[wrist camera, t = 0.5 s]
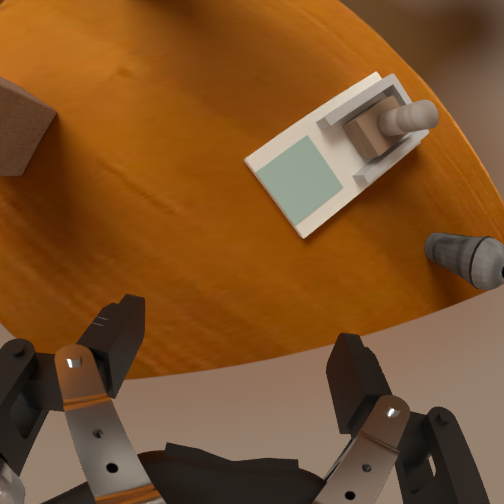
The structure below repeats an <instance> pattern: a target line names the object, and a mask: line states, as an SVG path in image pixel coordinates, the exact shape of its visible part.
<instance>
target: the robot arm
mask: <svg viewBox="0 0 504 504" xmlns="http://www.w3.org/2000/svg"><path fill="white" fill-rule="evenodd" d="M144 332H145V299H144V298H143V297H139V296H134V295H130V294H126V295H125V296H124V297H123V299H122V300H121V301H120V303H119V304H116V303H111V304H109V305H107V306H106V307H104V308H103V309H102V310H101V311H100V312H99V314H98V315H97V317H96V318H95V319H94V320H93V322H92V323H91V324H90V326H89V327H88V328H87V330H86V331H85V332H84V334H83V335H82V336H81V338H80V339H79V340H78V342H77V343H76V344H72V345H67V346H64V347H62V348H60V349H59V350H58V351H57V353H56V354H46V353H36V352H35V349H34V346H33V344H32V343H31V342H29V341H28V340H25V339H13V340H11V341H8V342H7V343H5V344H4V345H3V346H2V348H1V349H0V504H24V500H25V487H24V485H23V483H22V481H21V479H20V478H19V476H20V473H21V471H22V469H23V466H24V464H25V462H26V459H27V457H28V455H29V452H30V450H31V448H32V446H33V443H34V441H35V439H36V437H37V435H38V433H39V431H40V429H41V427H42V425H43V422H44V420H45V418H46V416H47V414H48V412H49V410H54V411H63V412H65V415H66V419H67V422H68V426H69V430H70V433H71V436H72V439H73V442H74V446H75V449H76V452H77V455H78V458H79V461H80V463H81V466H82V469H83V471H84V474H85V476H86V479H87V481H86V482H84V483H83V484H80V485H79V486H77V487H75V488H73V489H71V490H69V491H67V492H65V493H62V494H60V495H58V496H56V497H54V498H52V499H50V500H48V501H46V502H43V503H41V504H375V502H376V500H377V498H378V496H379V494H380V493H381V491H382V489H383V487H384V485H385V483H386V481H387V479H388V477H389V474H390V472H391V470H392V468H393V466H394V464H395V468H396V472H397V476H398V481H399V485H400V489H401V494H402V499H403V504H490V502H489V499H488V496H487V493H486V491H485V488H484V485H483V482H482V480H481V477H480V474H479V472H478V469H477V467H476V464H475V461H474V459H473V457H472V454H471V452H470V450H469V447H468V445H467V443H466V440H465V438H464V435H463V433H462V431H461V429H460V426H459V424H458V422H457V420H456V418H455V416H454V415H453V414H452V413H451V412H450V411H449V410H447V409H446V408H443V407H434V408H432V409H431V410H430V411H429V412H428V414H427V415H424V414H419V413H415V412H411V411H410V408H409V406H408V404H407V403H406V402H405V401H404V400H402V399H401V398H399V397H397V396H394V395H392V392H391V390H390V388H389V385H388V383H387V381H386V378H385V376H384V374H383V373H382V369H381V367H380V366H379V362H378V360H377V358H376V356H375V354H374V353H373V352H372V351H371V350H370V349H369V348H368V347H364V345H363V343H362V341H361V339H360V336H359V335H357V334H348V333H340V334H339V336H338V338H337V341H336V343H335V345H334V348H333V350H332V352H331V355H330V357H329V359H328V362H327V367H326V374H327V379H328V383H329V387H330V391H331V396H332V400H333V404H334V409H335V414H336V418H337V422H338V427H339V431H340V434H351V440H350V441H349V442H348V444H347V445H346V447H345V448H344V450H343V451H342V453H341V454H340V456H339V457H338V458H337V460H336V461H335V463H334V464H333V466H332V467H331V468H330V470H329V471H328V473H327V474H326V475H325V476H324V478H323V479H322V478H320V477H319V476H317V475H315V474H313V473H311V472H309V471H306V470H303V469H300V468H299V467H298V460H297V459H296V460H295V459H277V458H261V459H252V460H243V461H230V460H227V459H224V458H222V457H219V456H216V455H214V454H211V453H208V452H206V451H203V450H201V449H197V448H192V447H186V446H182V445H177V444H172V443H168V442H167V444H166V448H165V450H163V451H161V450H159V451H150V452H143V453H140V454H137V455H136V453H135V451H134V449H133V447H132V445H131V443H130V440H129V438H128V436H127V434H126V432H125V430H124V428H123V425H122V423H121V421H120V419H119V417H118V414H117V412H116V410H115V407H114V405H113V402H112V400H111V398H113V399H115V398H116V396H117V394H118V391H119V389H120V387H121V385H122V383H123V381H124V379H125V376H126V374H127V372H128V370H129V368H130V366H131V364H132V362H133V360H134V358H135V356H136V354H137V352H138V349H139V347H140V345H141V343H142V341H143V337H144ZM431 455H432V458H433V461H434V464H435V468H436V473H435V476H433V472H432V469H431V466H430V463H429V460H428V458H429V457H430V456H431Z"/></svg>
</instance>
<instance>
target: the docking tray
mask: <svg viewBox="0 0 504 504" xmlns="http://www.w3.org/2000/svg"><path fill="white" fill-rule="evenodd" d="M392 95H393V96H394V97H395V99H396V100H397V102H398V104H399V105H400V107H402V106H405V105H408V104H411V103H412V101H411V100H410V98H409V96H408V95H407V93H406V92H405V90H404V88H403V87H402V85H401V84H400V82H399V81H398V79H397V78H396V76H395V75H394V73H393V74H391V75H389V76H387V77H385V78H383V79H382V78H381V77H380V75H379V74H378V72H375V73H373V74H371V75H370V76H368V77H366V78H365V79H363V80H361V81H360V82H358V83H356V84H355V85H353V86H352V87H350V88H348V89H347V90H345V91H344V92H342V93H340V94H339V95H337V96H336V97H334V98H332V99H331V100H329V101H328V102H326V103H325V104H323V105H322V106H320V107H319V108H317V109H316V110H314V111H313V112H311V113H310V114H308V115H307V116H305V117H304V118H302V119H301V120H299V121H298V122H296V123H295V124H293V125H292V126H290V127H289V128H287V129H286V130H285V131H283V132H282V133H280V134H279V135H277V136H276V137H275V138H273V139H272V140H270V141H269V142H268V143H266V144H265V145H263V146H262V147H261V148H259V149H258V150H256V151H255V152H254V153H252V154H251V155H250V156H248V157H247V158H246V159H244V160H243V161H244V162H245V163H246V165H247V166H248V167H249V168H250V170H251V171H252V172H253V174H254V175H255V176H256V178H257V179H258V180H259V182H260V183H261V184H262V186H263V187H264V188H265V190H266V191H267V192H268V194H269V195H270V196H271V198H272V199H273V200H274V202H275V203H276V204H277V206H278V207H279V208H280V210H281V211H282V212H283V214H284V215H285V217H286V218H287V219H288V221H289V222H290V223H291V225H292V226H293V228H294V229H295V230H296V232H297V233H298V234H299V236H300V237H302V238H303V239H304V238H305V237H307V236H308V235H309V234H310V233H312V232H313V231H314V230H315V229H317V228H318V227H319V226H320V225H321V224H323V223H324V222H325V221H326V220H328V219H329V218H330V217H331V216H333V215H334V214H335V213H336V212H338V211H339V210H340V209H341V208H342V207H344V206H345V205H346V204H347V203H349V202H350V201H351V200H352V199H353V198H355V197H356V196H357V195H358V194H360V193H361V192H362V191H363V190H364V189H366V188H367V187H368V186H369V185H371V184H372V183H373V182H374V181H375V180H377V179H378V178H379V177H380V176H381V175H383V174H384V173H385V172H386V171H387V170H389V169H390V168H391V167H392V166H393V165H395V164H396V163H397V162H398V161H399V160H401V159H402V158H403V157H404V156H405V155H407V154H408V153H409V152H410V151H411V150H412V149H414V148H415V147H416V146H417V145H418V144H420V143H421V142H420V140H421V139H422V138H424V137H425V136H426V135H427V134H428V133H429V131H428V129H425V130H420V131H415V132H409V133H408V134H407V135H405V136H404V137H403V138H402V139H400V140H399V141H398V142H397V143H395V144H394V145H393V146H392V147H390V148H389V149H388V150H387V151H385V152H384V153H383V154H382V155H380V156H379V157H371V158H362V156H361V155H360V153H359V151H358V150H357V148H356V147H355V145H354V144H353V142H352V141H351V139H350V138H349V136H348V135H347V133H346V132H345V130H344V129H343V127H342V125H344V124H345V123H347V122H348V121H349V120H351V119H352V118H354V117H355V116H357V115H358V114H360V113H361V112H363V111H364V110H365V109H367V108H368V107H370V106H371V105H373V104H374V103H376V102H377V101H380V100H382V99H385V98H387V97H390V96H392Z"/></svg>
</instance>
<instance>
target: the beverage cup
mask: <svg viewBox="0 0 504 504" xmlns="http://www.w3.org/2000/svg"><path fill="white" fill-rule="evenodd" d="M425 254H426V256H427V258H428V259H430V260H432V261H433V262H435V263H436V264H438V265H440V266H442V267H444V268H445V269H447V270H449V271H451V272H453V273H455V274H456V275H458V276H460V277H462V278H464V279H465V280H466V281H467V282H469V283H470V284H471V285H472V286H473V287H475V288H476V289H482V290H493V289H495V288H498V287H499V286H501V285H502V284H503V283H504V245H503V244H502V243H501V242H499V241H498V240H495V239H494V238H493V237H490V236H487V237H471V236H464V235H456V234H448V233H432V234H431V235H430V236H429V237H428V238H427V240H426V243H425Z"/></svg>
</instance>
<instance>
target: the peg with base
mask: <svg viewBox="0 0 504 504" xmlns="http://www.w3.org/2000/svg"><path fill="white" fill-rule="evenodd" d="M438 121H439V115H438V111H437V109H436V107H435V106H434V104H433V103H432V102H430V101H429V100H420V101H417V102H414V103H411V104H408V105H405V106H402V107H400V105H399V104H398V102H397V100H396V99H395V97H394V96H393V95H392V96H390V97H387V98H385V99H382V100H380V101H377V102H376V103H374V104H373V105H371V106H370V107H368V108H367V109H365V110H364V111H363V112H361V113H360V114H358V115H357V116H355V117H354V118H352V119H351V120H349V121H348V122H347V123H345V124H344V125H342V127H343V129H344V130H345V132H346V133H347V135H348V136H349V138H350V139H351V141H352V142H353V144H354V145H355V147H356V148H357V150H358V151H359V153H360V155H361V156H362V158H371V157H379V156H380V155H382V154H383V153H384V152H385V151H387V150H388V149H389V148H390V147H392V146H393V145H394V144H395V143H397V142H398V141H399V140H400V139H402V138H403V137H404V136H405V135H407V134H408V133H409V132H415V131H420V130H425V129H431V128H435V127H436V126H437V124H438Z"/></svg>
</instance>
